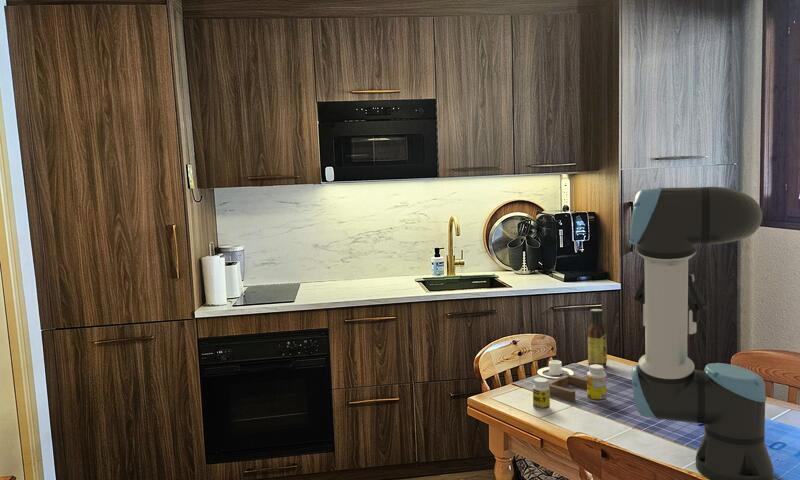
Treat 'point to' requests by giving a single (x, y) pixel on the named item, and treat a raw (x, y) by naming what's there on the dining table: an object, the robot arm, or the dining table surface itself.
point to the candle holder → (554, 369)
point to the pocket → (561, 382)
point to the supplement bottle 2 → (596, 384)
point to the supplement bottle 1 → (541, 394)
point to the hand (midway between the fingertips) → (669, 329)
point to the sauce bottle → (597, 339)
